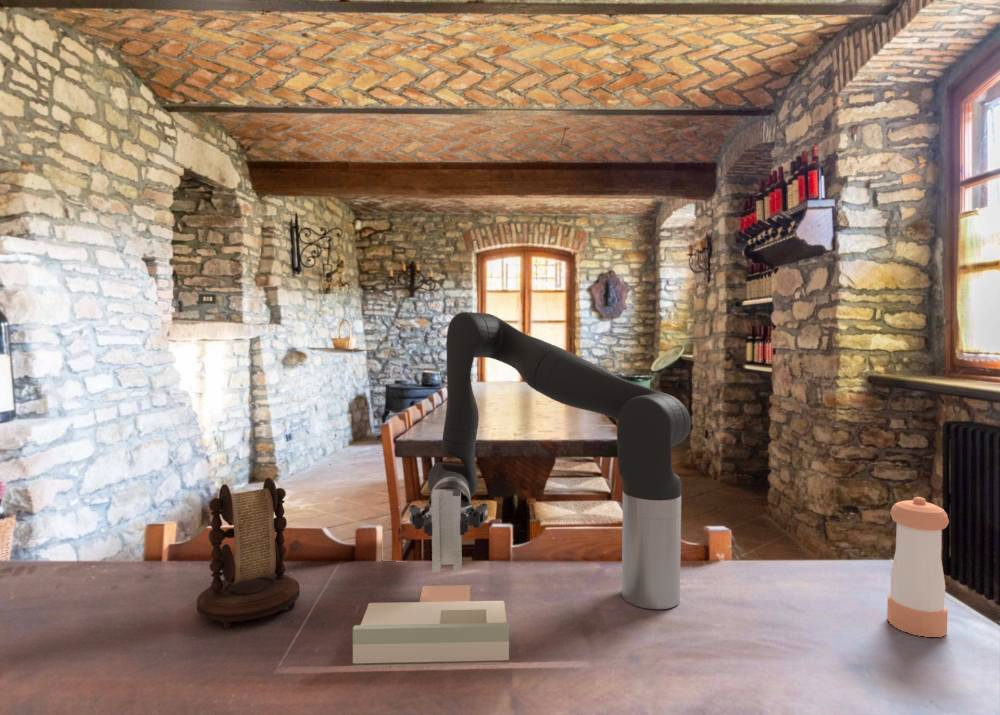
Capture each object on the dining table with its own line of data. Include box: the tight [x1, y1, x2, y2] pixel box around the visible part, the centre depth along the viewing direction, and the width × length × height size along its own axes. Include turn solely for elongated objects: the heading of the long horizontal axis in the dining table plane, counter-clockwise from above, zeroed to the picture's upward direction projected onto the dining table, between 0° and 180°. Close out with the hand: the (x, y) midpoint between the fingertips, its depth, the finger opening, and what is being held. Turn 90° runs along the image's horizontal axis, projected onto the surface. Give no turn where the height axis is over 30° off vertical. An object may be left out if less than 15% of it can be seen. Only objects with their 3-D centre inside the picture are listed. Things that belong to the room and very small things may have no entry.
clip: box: [430, 489, 463, 574], centre depth 95 cm, size 4×4×12 cm
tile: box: [419, 584, 471, 602], centre depth 96 cm, size 8×8×1 cm
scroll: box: [196, 477, 301, 630], centre depth 92 cm, size 15×15×20 cm
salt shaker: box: [886, 496, 950, 638], centre depth 87 cm, size 7×7×19 cm
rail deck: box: [352, 600, 510, 669], centre depth 82 cm, size 12×20×5 cm, turn 93°
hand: (446, 529), depth 93 cm, fingers closed on clip, 4 cm apart
